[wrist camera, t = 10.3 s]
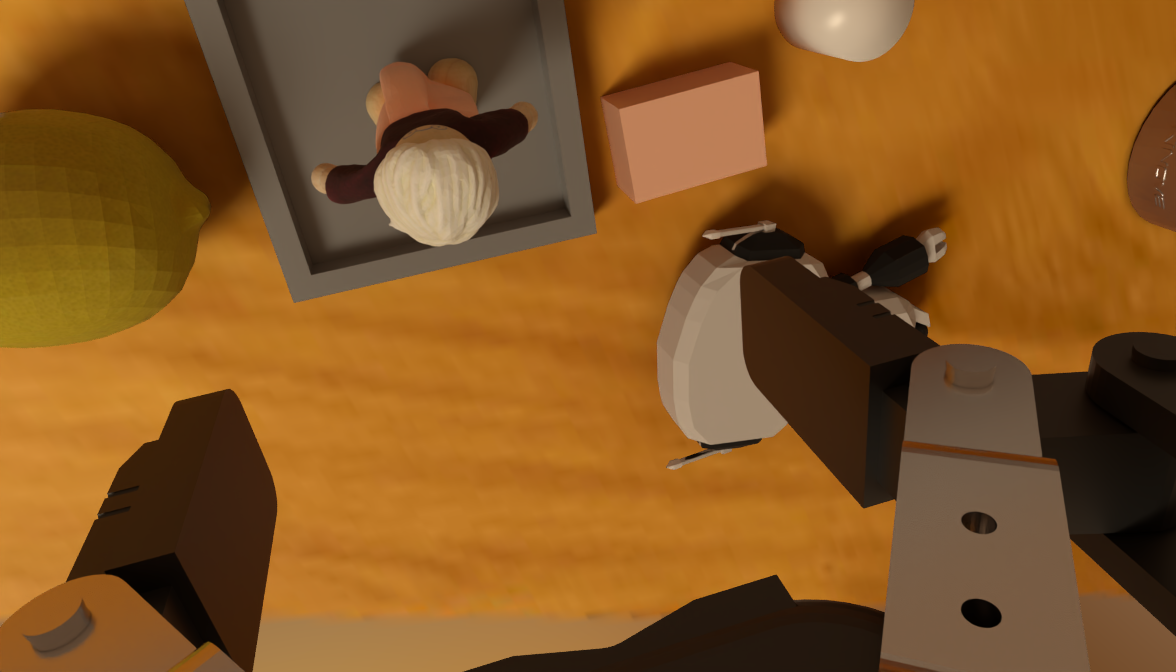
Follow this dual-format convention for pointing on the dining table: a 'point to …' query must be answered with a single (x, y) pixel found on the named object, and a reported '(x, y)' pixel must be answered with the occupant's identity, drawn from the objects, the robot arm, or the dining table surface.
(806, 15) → the white rounded cylinder block
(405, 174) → the grandmother figurine
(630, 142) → the terracotta block
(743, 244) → the robot toy
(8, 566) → the dining table surface
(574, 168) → the tray
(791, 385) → the robot arm
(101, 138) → the lemon
